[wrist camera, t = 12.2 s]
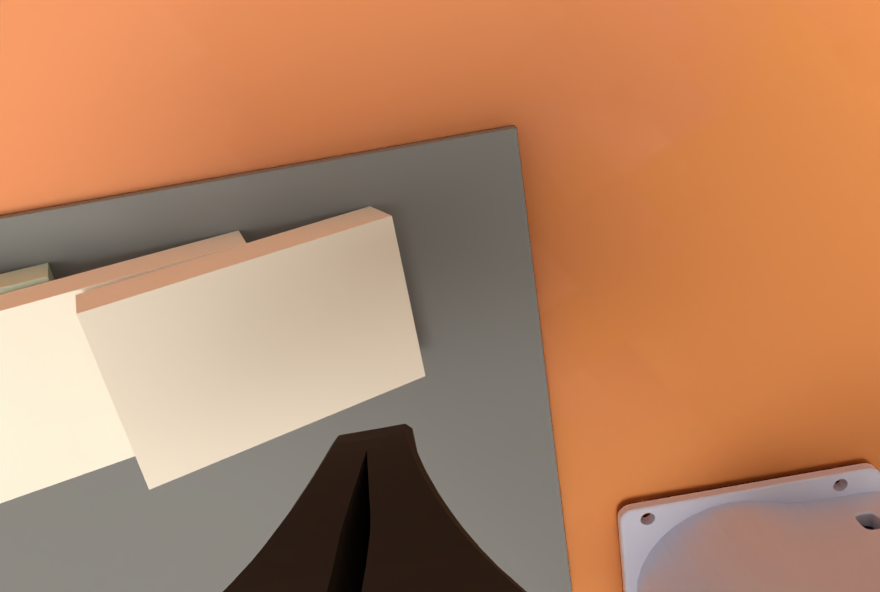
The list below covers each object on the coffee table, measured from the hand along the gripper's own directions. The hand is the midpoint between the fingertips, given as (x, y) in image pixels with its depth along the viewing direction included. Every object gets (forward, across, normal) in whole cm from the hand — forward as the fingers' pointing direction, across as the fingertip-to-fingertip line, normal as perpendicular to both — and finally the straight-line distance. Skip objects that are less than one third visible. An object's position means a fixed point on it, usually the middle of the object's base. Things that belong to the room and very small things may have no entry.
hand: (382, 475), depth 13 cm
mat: (+10, +6, +5) cm, 12 cm away
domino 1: (+9, +4, 0) cm, 9 cm away
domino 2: (+9, 0, 0) cm, 9 cm away
